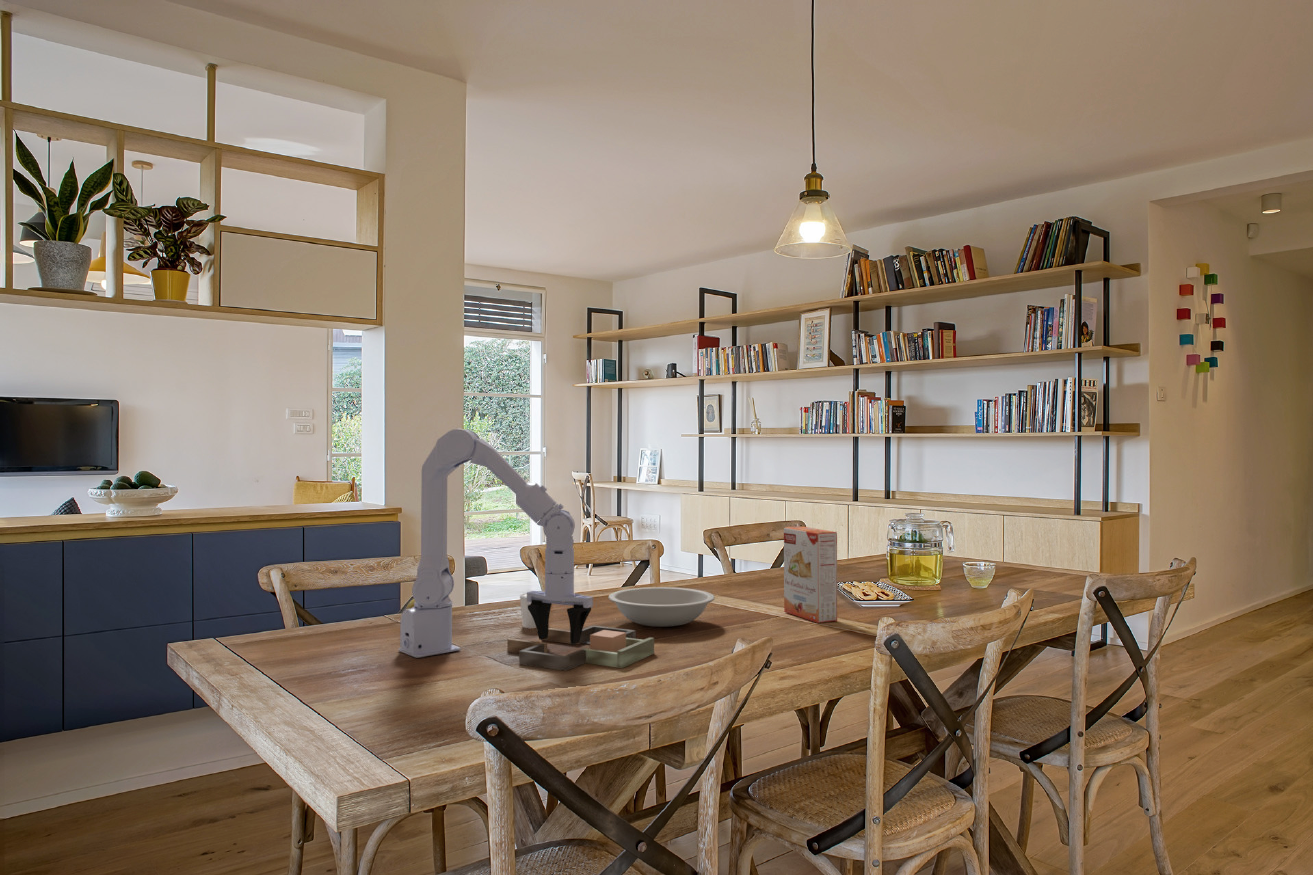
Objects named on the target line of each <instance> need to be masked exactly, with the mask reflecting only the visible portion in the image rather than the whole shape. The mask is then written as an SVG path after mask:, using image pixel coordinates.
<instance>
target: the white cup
mask: <svg viewBox="0 0 1313 875" xmlns="http://www.w3.org/2000/svg"><path fill="white" fill-rule="evenodd" d="M519 599H520V613H521V623H522V624H521V625H522V627H523V628H524V629H531V628H536V625H535V622H534V619H533V617H532V615H531V613H530V612H529V610H528V605H530V604H531V603H532V602H527V592H526V593H522V594H520V595H519ZM536 629H537V628H536Z"/></svg>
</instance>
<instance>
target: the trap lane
mask: <svg viewBox="0 0 1313 875" xmlns="http://www.w3.org/2000/svg"><path fill="white" fill-rule="evenodd" d="M602 630H609V631H617V632H625V633H626V648H623V649H621V650H618V651H617V653H616V652H609V651H601V650H594V649H590V648H581V649H578V650H577V651H574V652H570V653H568V654H566V655H563V654H562V655H561V654H554V653H548V643H547V642H555V643H563V644H570V645H572V644H571V640H570V630H568V629H567V630H566V629H560V628H551V627H548V638H546V639H543V640H542V641H546V642H539V641H533V640H526V639H519V638H518V639H517V638H512V637H511V638H508V639H507V642H506V643H507V652H508V653H514V654H515V653H516V654H518V655H519V658H518V663H519V665H523V666H530V667H537V668H542V667H543V669H549V670H550V669H552V670H556V669H558V671H562V670H563V671H564V672H567V670H568V671H570V670H572V669H574V667H575V668H577V667H580V666H581V665H584V664H590V665H591V664H592V665H598V666H605V667H611V668H618V669H619V668H620V669H623V668H625V667H627V666H630V665H633V664H634V663H636V662H638V661H641V660H643V659H645V658H648V657H649V656H651V655H654V654H655V638H654V637H647V638H645V639H641V638H640V639H639V638H636V630H633V629H627V628H617V627H610V626H609V627H608V626H603V625H602V626H600V625H590V626H587V627H583V629H582V633H581V637H580V642H579V643H576V644H575V645H580V644H582V645H588V646H590V635H591V634H594V633H597V632H599V631H602ZM579 665H580V666H579ZM569 669H570V670H569ZM563 671H562V672H563Z"/></svg>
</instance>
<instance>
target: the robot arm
mask: <svg viewBox="0 0 1313 875" xmlns="http://www.w3.org/2000/svg"><path fill="white" fill-rule="evenodd" d="M469 461H470V462H469ZM468 462H469V463H470V464H473V465H476V466H482V467H485V468H487V469H488V470H489V471H490V473H492V474H493V475H494V476H495V477H497V479H499V481H501V482H502V483H503V484H504V485H505V486H506V487H507V488H508V489H510V490H511V491H512V492H513V493H514V494H515V503H516V505H517V506H518V507H519V508H520V509H521V511H523V512H524V513H525V514H526V515H527V516H528V517H529V518H530V519H531V520H532V521H533V522H534V523H535V524H536V525H537V526H540V527H543V528H542V529H543V533H544V536H545V538H546V541H545V543H546V546H545V547H546V548H545V549H544V550H545V551H544V591H543V590H530V591H529V590H528V591H527V592H526V593H527V602H532V603H531V604H530V605H528V610H529V612H530V613H531V615H532V617H533V619H534V622H535V625H536V631H537V636H538V639H539V640H540V641H544V640H543V639H546V638H548V628H550V627H549V623H550V622H549V619H550V614H551V609H552V605H562V606H572V607H568V608H566V612H567V616H568V620H569V629H570V630H569V631H570V640H571V644H570V645H576V643H579V642H580V637H581V633H582V629H584V626H585V623H586V621H587V619H588V617H589V615H590V614H591V611H592V607H594V597H593V596H589V595H584V594H579V593H576V592H575V575H574V574H575V549H574V536H573V534H574V532H575V526H576V525H575V524H576V522H575V519H574V518H573V516H572V515H571V513H570V512H569V511H567V510H566V509H565V510H564V505H563V504H562V503H559V504H558V503H557V501H555V500H554V499H553V497H551V496H550V495H549V494H548V493H547V491H548V488H547V487H546V486H545V485H544V484H543V485H541V486H540V485H539V484H538V483H537V482H527V481H526V480H525V479H524V478H523V477H522V476H521V475H520V474H519V473H518V471H517V470H516V469H515V468H514V467H513V466H511V464H510V463H509V462H508V461H507V460H506V459H505V458H504V456H502V455H501V454H500V453H499V451H498V450H497V449H495V447H493V446H492V445H491V444H490V443H489V442H488V441H486V440H484V439H483V438H480V436H479V435H478V433H476V432H475V431H473V430H471V429H462V428H454V429H451V430H449V431H447V432H446V433H445V434H443V435H442V436H441V437H439V438H438V439H437V441H436V442H435V445H434V447H433V448H432V450H431V451H430V453H429V455H428V457H427V458H426V460H425V461H424V462H423V464H422V466H421V490H420V491H421V494H420V495H421V499H420V500H421V501H420V502H421V503H420V504H421V505H420V506H421V508H420V511H421V512H420V514H421V515H420V518H421V519H420V522H421V523H420V525H421V526H420V559H419V562H418V565H417V571H416V579H415V581H414V582H413V584H412V587H411V594H412V597H413V599H415V601H416V602H415V603H414V607H413V608H411V609H406V608H405V609H404V610H403V611H402V614H401V615H400V623H399V624H400V634H399V636H400V637H399V639H400V642H399V643H400V644H399V646H400V647H399V648H398V651H399V652H401V653H404V654H406V655H408V656H410V657H413V658H416V659H418V658H424V657H429V656H435V655H442V654H445V653H446V654H447V653H453V652H458V651H461V647H459V646H457V645H455V644H453V601H452V600H451V599H450V595H451V593H452V591H453V589H454V586H455V581H454V577H453V575H452V573H451V571H450V570H451V569H450V561H449V557H448V476H450V475H451V474H452V473H453V472H454V471H456V469H458V468H459V466H461V465H463V464H466V463H468Z"/></svg>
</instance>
